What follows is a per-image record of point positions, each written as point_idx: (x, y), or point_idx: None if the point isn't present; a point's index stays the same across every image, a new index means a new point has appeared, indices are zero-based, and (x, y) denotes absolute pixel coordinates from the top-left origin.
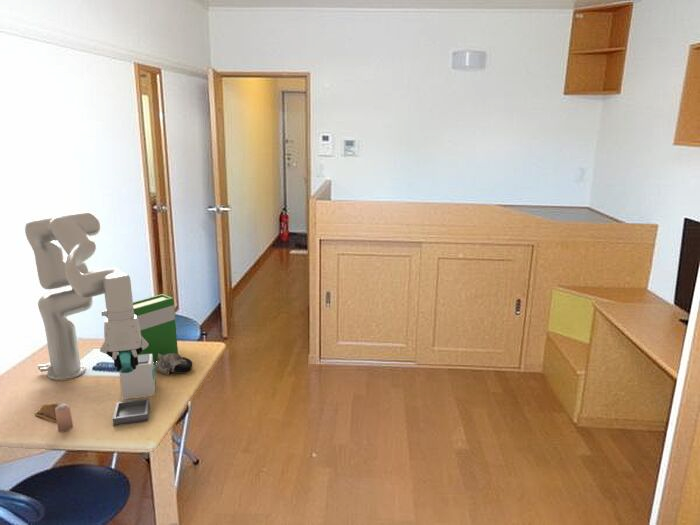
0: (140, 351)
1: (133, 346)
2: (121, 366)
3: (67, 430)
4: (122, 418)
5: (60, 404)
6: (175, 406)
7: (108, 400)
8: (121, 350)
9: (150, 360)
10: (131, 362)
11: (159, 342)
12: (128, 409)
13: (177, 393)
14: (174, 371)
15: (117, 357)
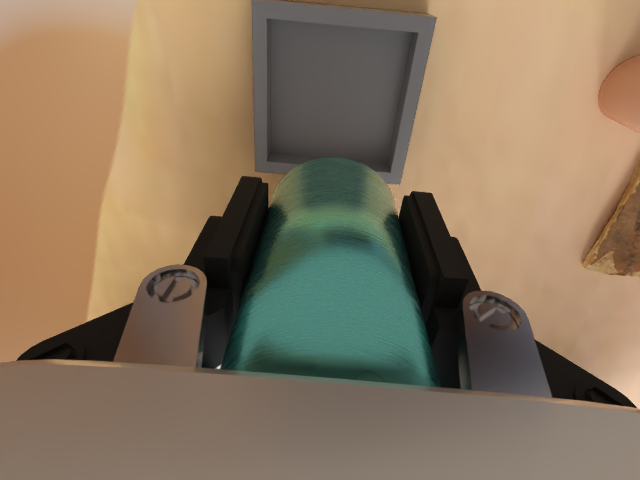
0: (74, 338)
1: (2, 449)
2: (387, 212)
3: (634, 56)
4: (384, 11)
5: (599, 265)
6: (142, 101)
7: None
8: (399, 389)
9: (218, 366)
10: (266, 233)
11: None
12: (350, 134)
13: (156, 209)
14: None
15: (441, 320)
